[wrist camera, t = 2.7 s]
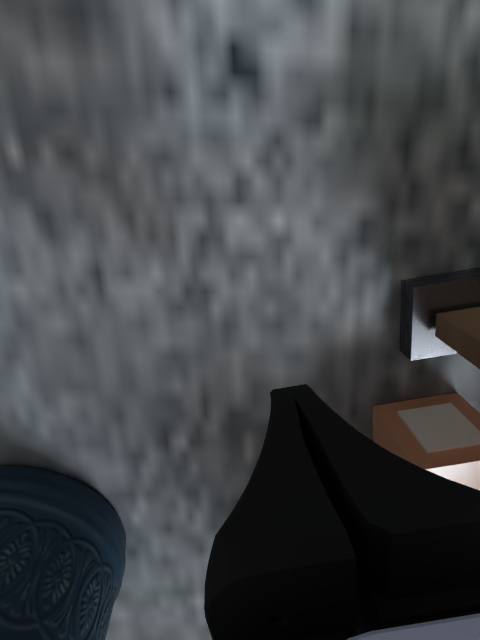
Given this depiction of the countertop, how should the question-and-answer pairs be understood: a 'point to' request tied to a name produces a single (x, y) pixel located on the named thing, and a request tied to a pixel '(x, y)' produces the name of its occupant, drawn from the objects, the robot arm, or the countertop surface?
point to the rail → (433, 309)
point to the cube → (433, 435)
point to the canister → (56, 557)
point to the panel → (461, 332)
